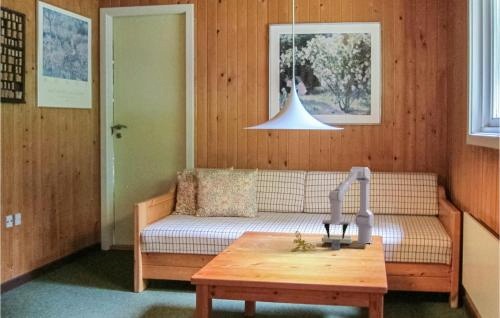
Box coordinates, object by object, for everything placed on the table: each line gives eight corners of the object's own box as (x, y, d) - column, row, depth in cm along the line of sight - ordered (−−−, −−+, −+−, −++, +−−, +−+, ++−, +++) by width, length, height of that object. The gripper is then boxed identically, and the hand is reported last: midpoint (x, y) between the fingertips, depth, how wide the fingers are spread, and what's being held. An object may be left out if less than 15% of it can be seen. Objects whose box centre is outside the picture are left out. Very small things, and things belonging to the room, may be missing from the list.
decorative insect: (302, 260, 288) (315, 246, 287) (302, 261, 285) (315, 247, 284) (284, 243, 290) (297, 229, 288) (283, 244, 286) (296, 230, 285)
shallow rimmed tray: (323, 240, 309) (323, 234, 309) (352, 242, 305) (352, 236, 305) (321, 244, 299) (321, 237, 299) (351, 245, 295) (351, 239, 295)
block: (332, 248, 295) (332, 239, 295) (339, 248, 294) (340, 239, 294) (331, 249, 291) (331, 240, 291) (339, 250, 290) (339, 240, 290)
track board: (324, 243, 310) (324, 240, 310) (365, 245, 304) (365, 243, 304) (321, 247, 298) (321, 244, 298) (364, 249, 293) (364, 247, 293)
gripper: (321, 213, 290) (321, 238, 290) (349, 214, 286) (349, 240, 287) (323, 211, 297) (323, 236, 297) (350, 212, 293) (349, 237, 293)
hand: (335, 238), depth 292 cm, fingers open, 7 cm apart
